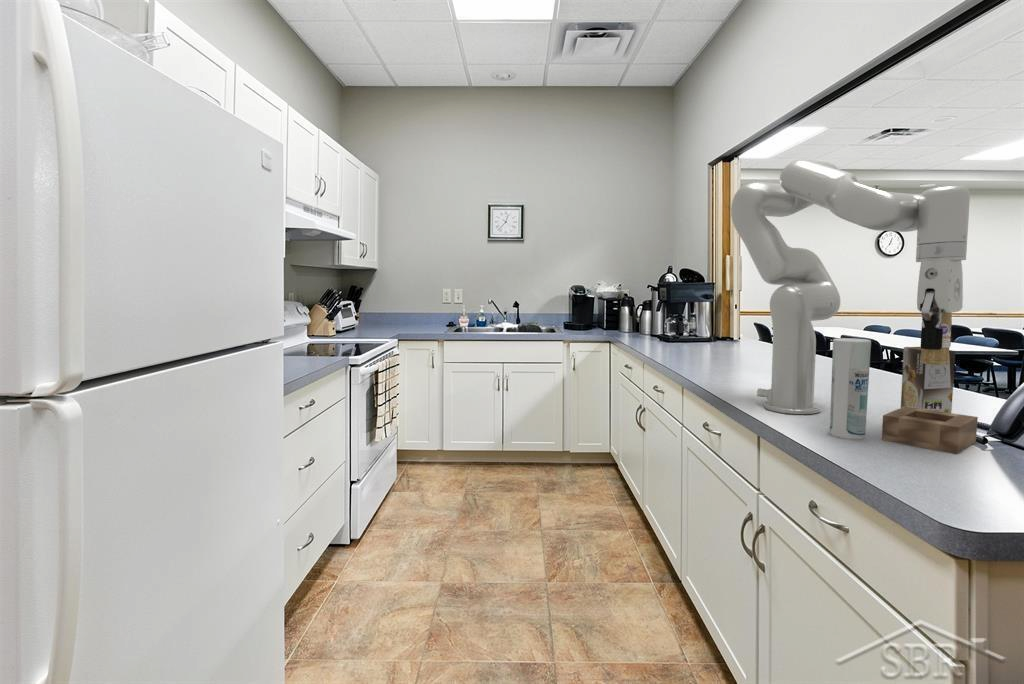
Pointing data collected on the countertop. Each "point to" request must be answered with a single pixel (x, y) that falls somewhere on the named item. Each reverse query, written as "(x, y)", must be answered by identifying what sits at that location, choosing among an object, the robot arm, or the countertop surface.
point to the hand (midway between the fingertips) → (935, 347)
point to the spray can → (849, 387)
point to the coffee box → (926, 382)
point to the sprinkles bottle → (943, 354)
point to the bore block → (930, 429)
